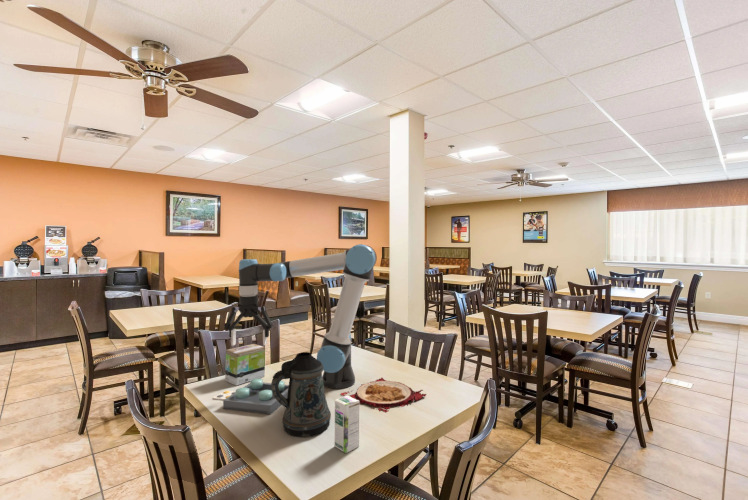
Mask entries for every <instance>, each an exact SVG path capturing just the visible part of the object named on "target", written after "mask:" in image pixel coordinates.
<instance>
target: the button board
mask: <svg viewBox="0 0 748 500" xmlns="http://www.w3.org/2000/svg"><path fill="white" fill-rule="evenodd" d="M288 386H289V384H284V390H282V391H280V392H281V394H282V395H283V396H284V397H285V398H286V399H287V395H288ZM242 388H249V397H247V398H244V399H237V398H236V392H235V393H234V394H232V395H231V396H229V397H228V398H226V399H225V400H222V402H223V403H222V407H223V410H227V411H228V410H229V411H237V412H238V411H240V412H247V413H256V414H263V415H272V414H273V413H275V411H276V410H278V408H280V407H281V406H282V405H281V404H280V403H279V402H278V401H277V400H276V398H275V397H274V395H273V393H272V399H271V400H269V401H265V402H262V401H259V392H260V391H263V390H271V382H263V387H262V388H259V389H251V388H250V383H248V384H246V385H245V386H243V387H242ZM271 391H272V390H271Z"/></svg>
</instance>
